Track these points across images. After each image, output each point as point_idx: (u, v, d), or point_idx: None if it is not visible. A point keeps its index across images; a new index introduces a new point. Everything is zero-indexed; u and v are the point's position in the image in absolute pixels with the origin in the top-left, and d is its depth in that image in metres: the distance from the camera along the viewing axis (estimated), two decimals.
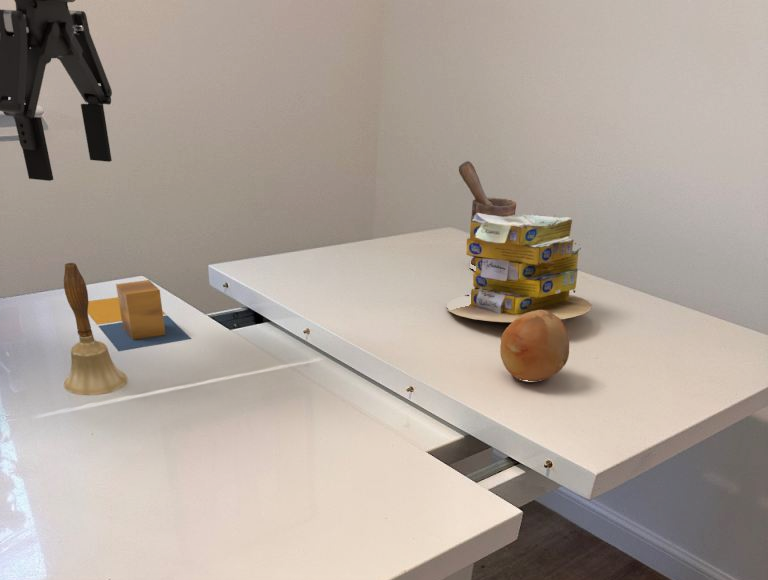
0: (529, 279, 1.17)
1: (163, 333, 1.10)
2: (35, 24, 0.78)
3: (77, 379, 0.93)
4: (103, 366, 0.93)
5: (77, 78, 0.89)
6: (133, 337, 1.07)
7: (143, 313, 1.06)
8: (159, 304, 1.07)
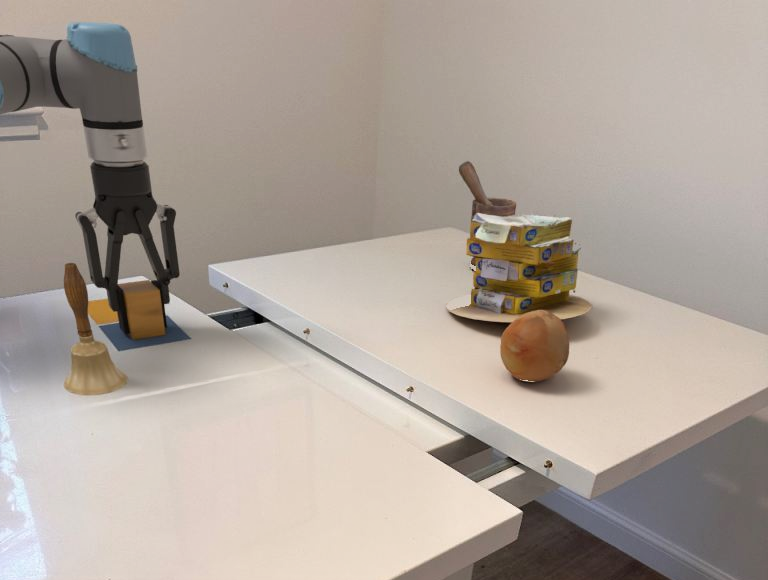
0: (529, 279, 1.17)
1: (163, 333, 1.10)
2: (103, 214, 0.98)
3: (77, 379, 0.93)
4: (103, 366, 0.93)
5: (148, 255, 1.05)
6: (133, 337, 1.07)
7: (143, 313, 1.06)
8: (159, 304, 1.07)
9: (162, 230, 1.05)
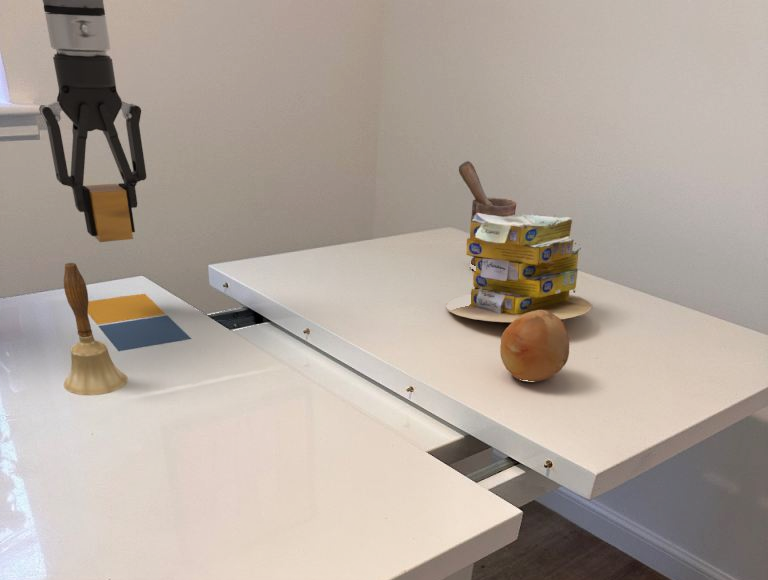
0: (529, 279, 1.17)
1: (130, 237, 1.10)
2: (66, 107, 0.98)
3: (77, 379, 0.93)
4: (103, 366, 0.93)
5: (114, 156, 1.06)
6: (100, 239, 1.08)
7: (110, 214, 1.07)
8: (126, 206, 1.07)
9: (128, 130, 1.05)
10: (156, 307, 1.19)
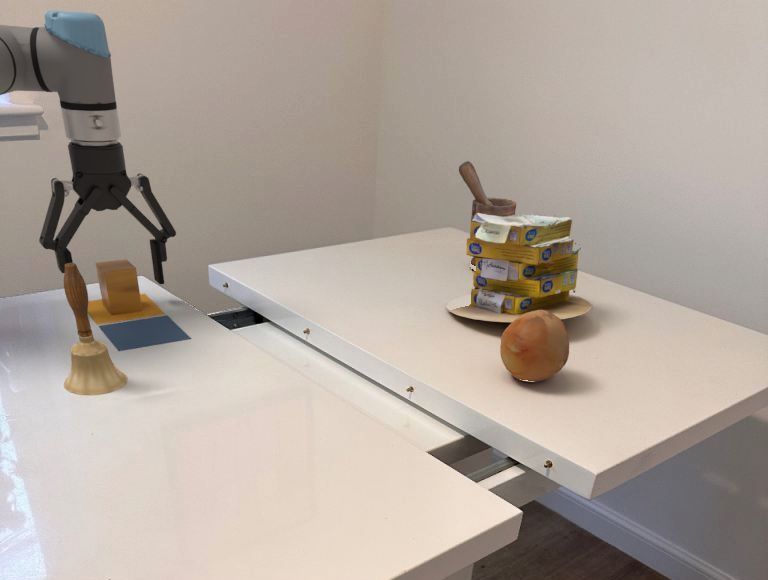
0: (529, 279, 1.17)
1: (140, 309, 1.17)
2: (78, 189, 1.05)
3: (77, 379, 0.93)
4: (103, 366, 0.93)
5: None
6: (111, 312, 1.15)
7: (121, 290, 1.14)
8: (136, 281, 1.15)
9: (145, 198, 1.12)
10: (156, 307, 1.19)
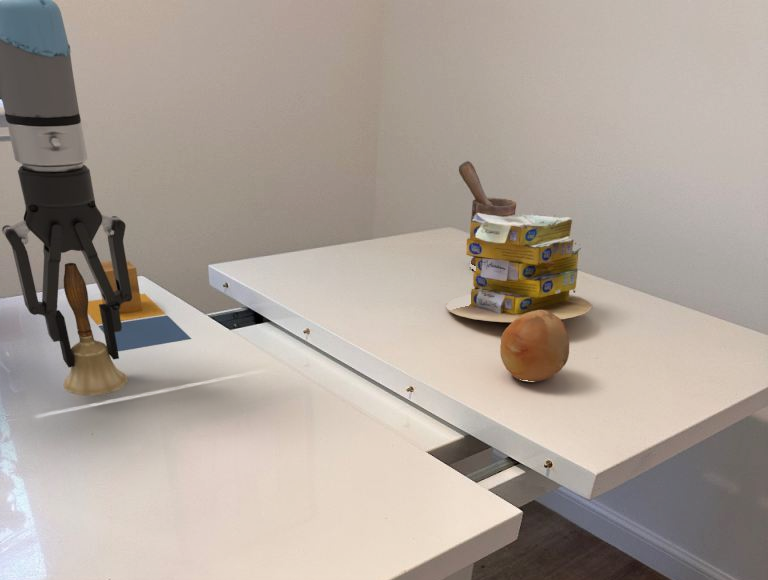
0: (529, 279, 1.17)
1: (140, 309, 1.17)
2: (35, 228, 0.82)
3: (77, 379, 0.93)
4: (102, 366, 0.93)
5: (94, 276, 0.89)
6: None
7: None
8: (136, 281, 1.15)
9: (110, 246, 0.89)
10: (156, 307, 1.19)
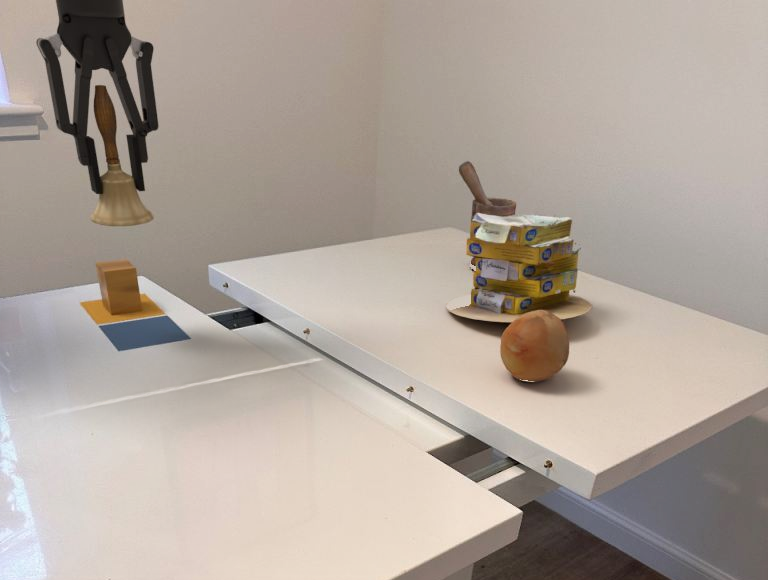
0: (529, 279, 1.17)
1: (140, 309, 1.17)
2: (68, 40, 0.85)
3: (105, 207, 0.96)
4: (129, 195, 0.96)
5: (122, 101, 0.92)
6: (111, 312, 1.15)
7: (121, 290, 1.14)
8: (136, 281, 1.15)
9: (138, 71, 0.92)
10: (156, 307, 1.19)
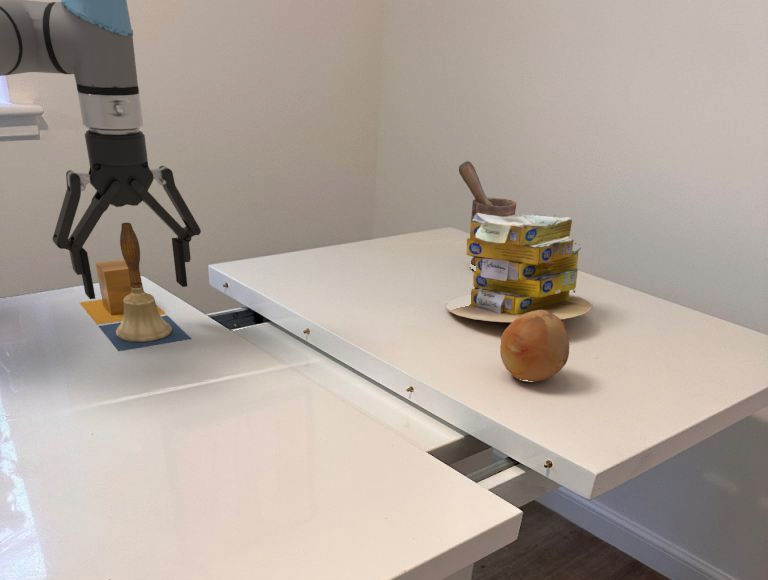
0: (529, 279, 1.17)
1: None
2: (96, 182, 0.95)
3: (129, 325, 1.07)
4: (151, 314, 1.07)
5: (161, 219, 1.04)
6: (111, 312, 1.15)
7: (121, 290, 1.14)
8: None
9: (167, 193, 1.02)
10: None
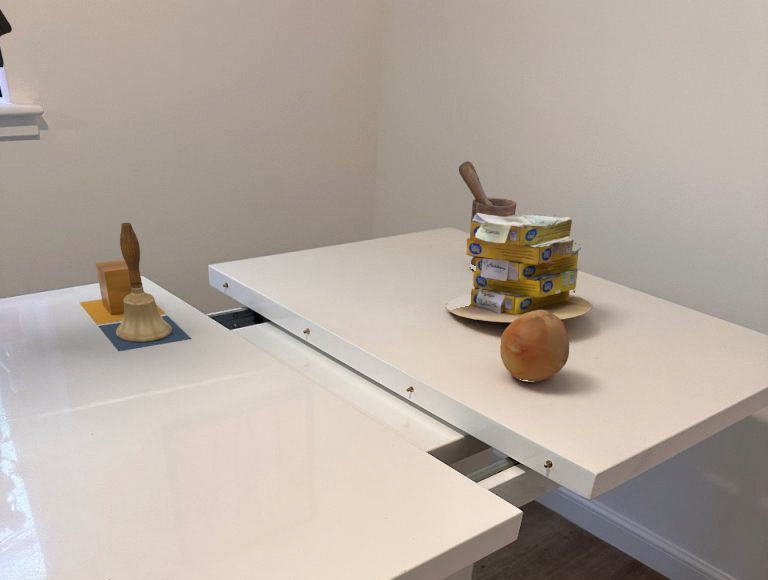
0: (529, 279, 1.17)
1: None
2: None
3: (129, 325, 1.07)
4: (151, 314, 1.07)
5: None
6: (111, 312, 1.15)
7: (121, 290, 1.14)
8: None
9: None
10: None
